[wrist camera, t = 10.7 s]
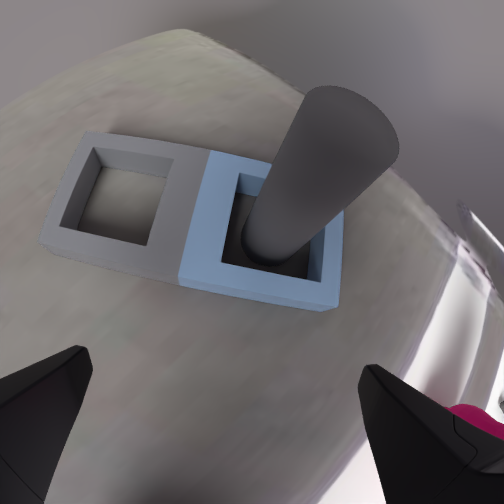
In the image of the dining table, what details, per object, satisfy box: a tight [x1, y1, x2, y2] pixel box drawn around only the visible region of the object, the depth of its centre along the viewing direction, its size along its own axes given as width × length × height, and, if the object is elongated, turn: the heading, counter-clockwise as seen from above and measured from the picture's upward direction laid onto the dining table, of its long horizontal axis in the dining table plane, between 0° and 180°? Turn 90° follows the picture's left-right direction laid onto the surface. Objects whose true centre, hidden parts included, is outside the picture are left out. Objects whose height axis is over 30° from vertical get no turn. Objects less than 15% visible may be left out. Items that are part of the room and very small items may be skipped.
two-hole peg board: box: [37, 131, 344, 312], centre depth 21 cm, size 22×10×3 cm, turn 81°
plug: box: [241, 86, 399, 267], centre depth 17 cm, size 4×4×14 cm
